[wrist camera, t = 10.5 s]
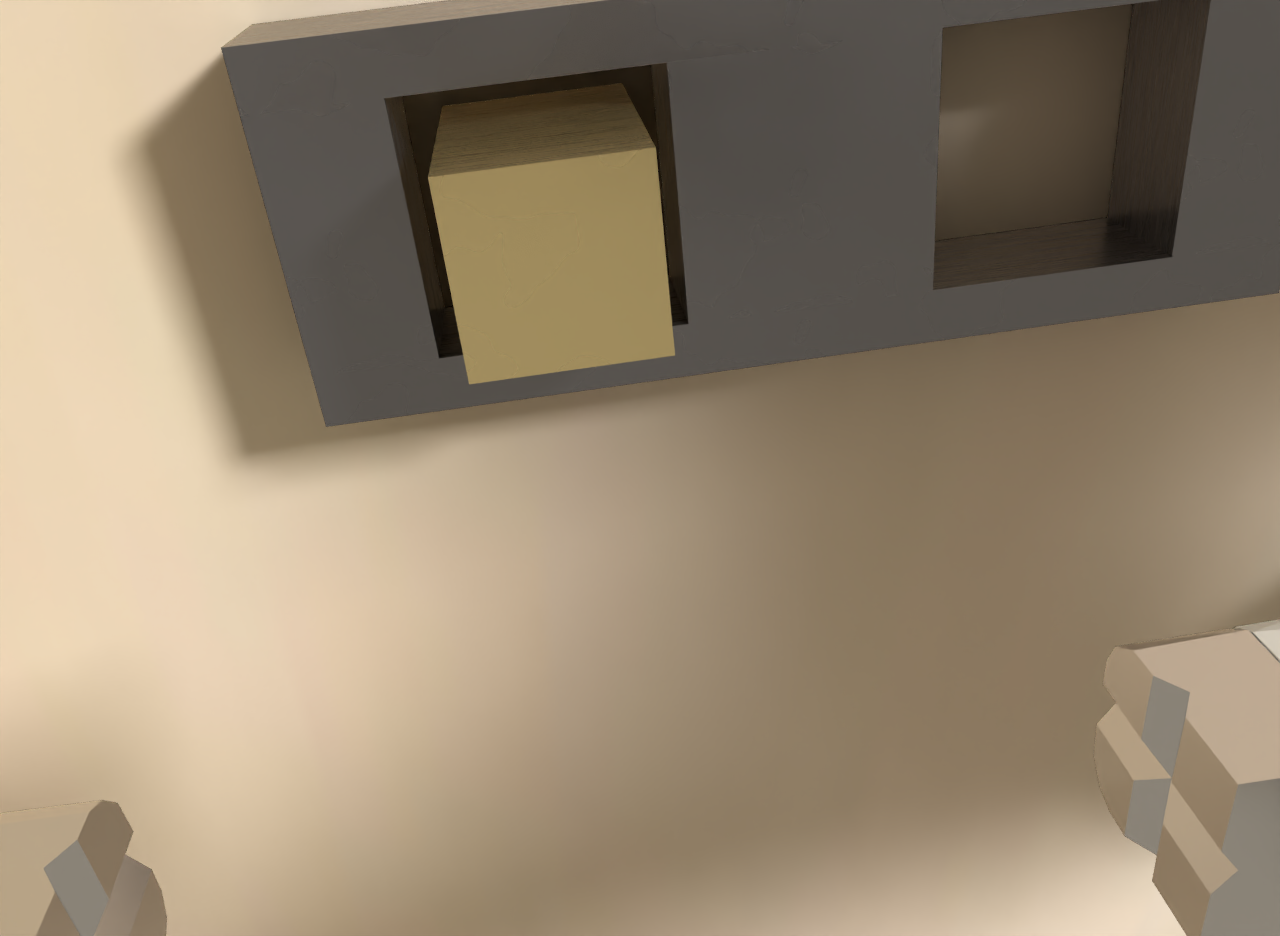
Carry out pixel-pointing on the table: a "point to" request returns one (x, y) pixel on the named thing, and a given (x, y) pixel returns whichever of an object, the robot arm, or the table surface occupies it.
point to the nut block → (551, 232)
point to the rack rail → (754, 179)
